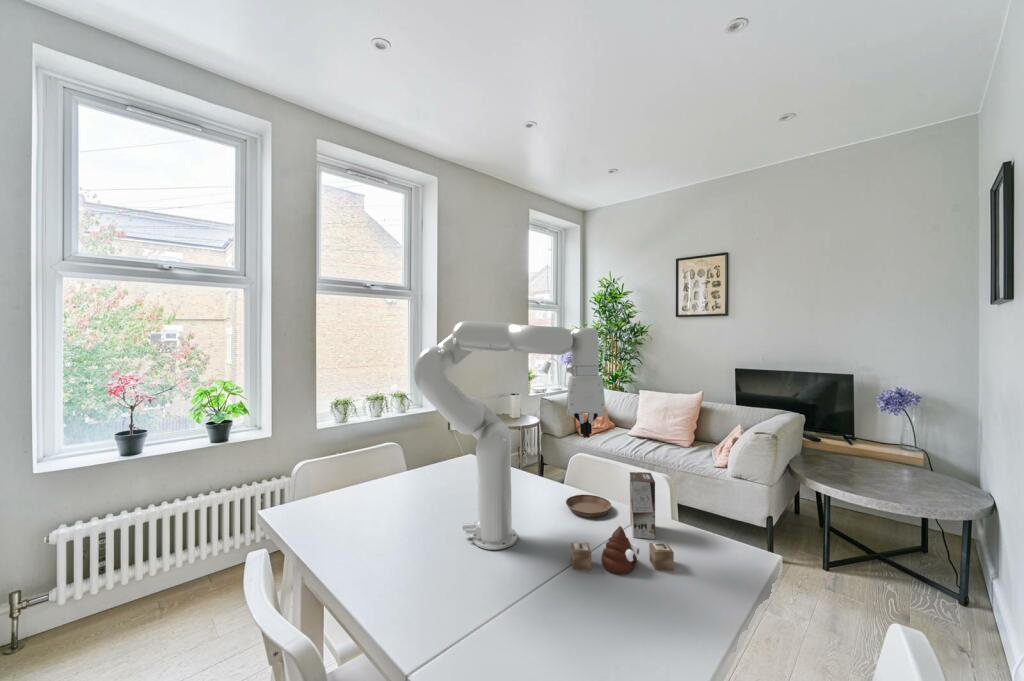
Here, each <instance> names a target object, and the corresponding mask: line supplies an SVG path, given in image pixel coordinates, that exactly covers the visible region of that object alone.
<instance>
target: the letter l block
mask: <svg viewBox="0 0 1024 681" xmlns="http://www.w3.org/2000/svg"><path fill="white" fill-rule="evenodd" d="M648 552H649V556H648V558H649V562H650V563H651V566H652V568H653V569H654V570H655V571H674V570H675V567H674V566H675V565H674V564H675V563H674V558H675V557H674V556H675V554H674V550H673V549H672V548H671V546H670V545H669V544H668V542H649V546H648Z"/></svg>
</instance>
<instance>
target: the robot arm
mask: <svg viewBox="0 0 1024 681" xmlns="http://www.w3.org/2000/svg"><path fill="white" fill-rule="evenodd" d="M599 351H600V350H599V332H598V330H597V328H595V327H576V328H572V329H571V328H570V329H569V328H565V327H562V326H550V325H549V326H548V325H528V324H519V323H514V322H513V323H512V322H497V321H481V320H480V321H479V320H463V321H459V322H457V323H456V324H455V325H454V327H453V329H452V333H451V334H450V335H449V336H448V337H446V338H445V339H444V340H442V341H441V342H440V343H439V344H438V345H435V346H430V347H427V348H425V349H423V350H422V351H421V352H420V354H419V355H418V357H417V359H416V361H415V365H414V370H413V374H414V375H413V376H414V381H415V384H416V387H417V389H418V390H419V392H420V393H421V394H422V395H423V397H424V398H425V399H426V400H427V401H428V402H429V403H430V404H431V405H432V406H433V407H434V408H435V409H436V411H438V412H439V414H440V415H441V416H443V418H444V419H445V420H446V421H447V422H448V423H449V424H450V425H451V426H452V427H453V428H454V429H455V430H456V431H457V432H459V433H461V434H462V435H466V436H467V435H468V436H469V435H472V436H473V437H474V438H475V439H476V440H477V441H476V446H475V447H476V448H475V450H476V451H475V453H476V455H475V456H476V471H477V472H476V473H477V522H476V521H475V522H474V523H462V531H463V532H465V534H466V535H472V542H473V543H474V544H475V546H477V547H479V548H481V549H484V550H494V551H497V550H503V549H507V548H510V547H511V546H513V545H515V543H516V542H517V541H518V533H517V531H516V530H515V529H513V528H512V527H513V526H512V525H513V524H512V522H513V521H512V518H513V517H512V516H513V515H512V469H511V468H512V466H511V465H512V464H511V462H512V460H511V459H512V457H511V456H512V432H511V430H510V428H509V427H508V426H507V424H505V423H504V421H503V420H502V419H501V418H500V417H499V416H498V415H496V414H495V412H493V411H492V410H491V409H490V408H489V406H487V404H485V402H483V401H482V400H481V399H479V398H477V397H471V396H469V397H468V396H467V395H466V394H465V393H463V391H462V390H461V388H459V387H458V386H457V385H456V384H455V383H454V382H453V381H451V379H449V378H448V376H447V375H446V374H447V373H448V372H451V371H452V370H453V369H454V368H455V367H456V366H458V365H459V364H460V363H462V361H464V360H465V359H466V358H467V357H469V356H470V355H471V354H472V353H473V352H487V353H489V352H490V353H504V354H519V353H520V354H522V353H523V354H539V355H540V354H541V355H553V356H555V355H556V356H562V355H565V354H568V353H570V354H571V366H569V367H566V373H569V374H571V376H569V378H568V384H567V395H566V396H567V397H566V401H567V402H566V404H567V405H566V407H567V410H566V416H568V417H572V418H575V419H576V420H577V421H578V422H579V432H580V435H582V437H583V438H584V439H586V438H587V439H588V438H589V439H590V436H591V435H592V430H593V428H592V424H593V422H594V421H595V420H596V419H597V418H600V417H603V416H605V415H606V412H605V409H606V402H605V400H606V399H605V388H604V387H605V386H604V382H603V377H602V376H600V373H599V372H600V371H599V363H600V361H599V360H600V358H599V356H600V355H599ZM584 414H587V417H586V420H585V417H584Z"/></svg>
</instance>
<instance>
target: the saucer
mask: <svg viewBox="0 0 1024 681" xmlns="http://www.w3.org/2000/svg"><path fill="white" fill-rule="evenodd" d="M565 504H566V506H567V508H568V510H570V511H571V512H572V513H573V514H574V515H577V516H579V517H584V518H598V517H601V516H604V515H605V514H607V513H608V512H609V510H610V509H611V507H612V503H611V502H610V500H608V499H606V498H604V497H601V496H599V495H593V494H576V495H572V496H570V497H568V498H566V500H565Z"/></svg>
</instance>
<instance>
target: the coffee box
mask: <svg viewBox="0 0 1024 681" xmlns="http://www.w3.org/2000/svg"><path fill="white" fill-rule="evenodd" d="M629 503H630V504H629V505H630V506H629V509H630V510H629V513H630V520H629V521H630V529H631V534H632V537H633V538H637V539H650V540H655V539H656V482H655V479H654V476H653V475H652V472H647V471H646V472H641V471H640V472H639V471H637V472H635V471H633V472H632V471H629Z"/></svg>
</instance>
